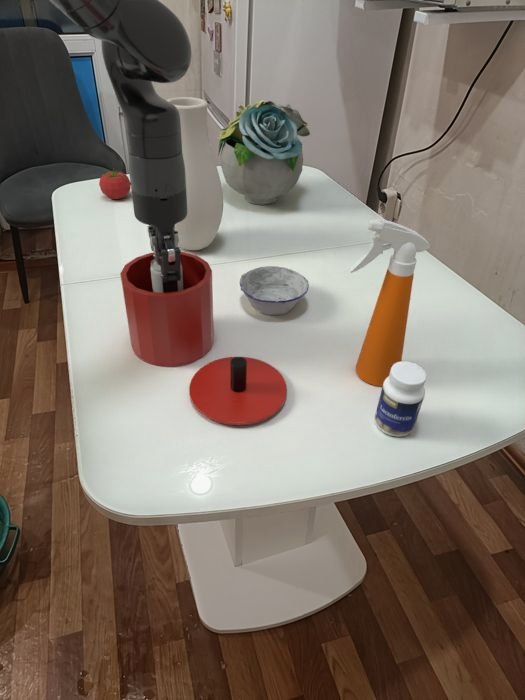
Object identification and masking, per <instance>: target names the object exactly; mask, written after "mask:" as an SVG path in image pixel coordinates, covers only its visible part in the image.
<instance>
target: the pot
mask: <svg viewBox="0 0 525 700" xmlns="http://www.w3.org/2000/svg"><path fill="white" fill-rule="evenodd" d="M153 255H154V252H149V253H146V254H143V255H140V256H139V255H138V256H137V257H135V258H133V259H131V260H130V261H129V262H127V263H126V264H125V265H124V267H122V269H121V271H120V280H121V286H122V288H121V289H122V295H123V301H124V308H125V314H126V319H127V320H126V321H127V326H128V333H129V340H130V344H131V349H132V352H133V353H134V355H135V356H136V357H137V358H139V359H140V360H141V361H143V362H145V363H148V364H150V365H153V366H157V367H167V368H168V367H169V368H170V367H182V366H186V365H189V364H192V363H195V362H197V361H198V360H200V359H202V358H204V357H205V356H206V355H207V354H208V353H209V351H210V350H211V349H212V347H213V345H214V344H213V343H214V339H215V338H214V337H215V334H214V333H215V331H214V299H213V298H214V297H213V295H214V294H213V293H214V292H213V290H214V289H213V270H212V268H211V266H210V264H209V262H208V261H207V260H205V259H203V258H202V257H200V256H198V255H196V254H193V253H189V252H186V251H181V253H180V261H181V265H182V273H183V291H177V292H170V293H158V292H153V287H152V278H151V269H150V268H151V262H152V261H153V260H154V259H155V258H154V257H153Z"/></svg>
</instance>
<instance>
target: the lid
mask: <svg viewBox="0 0 525 700" xmlns="http://www.w3.org/2000/svg"><path fill="white" fill-rule="evenodd" d="M188 389H189V391H188V392H189V399H190V401H191V403H192V405H193V407H194V408H195V409H196V410H197V411H198V412H199V413H200V414H201V415H203V416H204V417H205V418H207V419H209V420H211V421H213V422H216V423H219V424H224V425H231V426H247V425H248V426H249V425H254V424H257V423H260V422H263V421H265V420H268V419H269V418H271V417H272V416H274V415H275V414H277V412H278V411H280V410H281V409H282V407H283V406H284V404H285V402H286V400H287V394H288V386H287V382H286V380H285V378H284V376H283V375H282V374H281V372H280V371H279V370H278V369H277V368H276V367H274V366H272V365H271V364H269V363H268V362H266V361H263V360H260V359H257V358H253V357H248V356H227V357H223V358H218V359H215V360H212V361H210V362H208V363H207V364H205V365H203V366H201V367H200V368H199V369H198V370H197V371H196V372H195V374H194V375H193V376H192V378H191V380H190V383H189V388H188Z"/></svg>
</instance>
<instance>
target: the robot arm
mask: <svg viewBox="0 0 525 700" xmlns="http://www.w3.org/2000/svg"><path fill="white" fill-rule="evenodd" d="M48 1H49V2H50V3H51V4H52V5H53V6H54V7H55V8H56V9H58V11H60V12H61V13H62V14H63V15H64V16H65V17H66V18H68V20H70V21H71V22H72V23H73V24H75V26H76V27H78V28H79V29H80V30H81V31H83V32H84V33H86V34H87V35H89V36H90V37H92V38H95V39H96V40H100V41H101V42H100V43H101V45H100V46H101V54H102V58H103V64H104V66H105V69H106V72H107V75H108V78H109V81H110V83H111V86H112V89H113V92H114V95H115V97H116V100H117V103H118V105H119V108H120V110H121V113H122V115H123V118H124V123H125V132H126V133H125V134H126V142H127V146H128V147H127V148H128V149H127V150H128V174H129V180H130V183H131V187H130V191H131V196H132V198H131V199H132V204H133V205H132V206H133V214H134V217H135V219H136V220H137V221H138V222H140V223H141V224H144V225H147V234H148V237H149V246H150V249H151V251H152V252H153V253H154V255H153V257H154V258H155V260H156V263H157V264H158V265H160V271H161V275H160V277H161V278H162V285H163V293H170V292H177V291H178V283H177V281H180V280H181V263H180V253H181V252H182V251H181V247H179V246H178V243H179V236H178V231H175V224H177V223H178V222H181V221H183V220H184V219H185V218H186V216H187V194H186V175H185V165H184V159H183V153H182V138H181V122H180V114H179V111H178V109H177V107H176V106H175V105H173V104H172V103H170V102H169V101H167V100H168V99H164V98H163V97H162V96H161V95H159V94H158V92H157V91H156V89H155V87H154V85H153V83H157V84H158V83H159V84H173V83H176V82H178V81H179V80H181V79H182V78H183V77H184V76H185V75H186V74H187V72H188V71H189V69H190V65H191V62H192V44H191V39H190V37H189V33H188V32H187V29H186V28H185V26H184V24H183V23H182V21H181V20H180V18H179V17H178V16H177V15H176V14H175V13H174V12H173V11H172V10H171V9H170V8H169V7H168V6H166V5H165V4H164V3H162V2H161V1H160V0H48ZM160 257H162V258H160Z"/></svg>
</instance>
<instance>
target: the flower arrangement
mask: <svg viewBox="0 0 525 700" xmlns="http://www.w3.org/2000/svg"><path fill="white" fill-rule="evenodd" d="M238 109H239V111H236V112H235V113H236V115H235V118H234V119H233V120H232V121H229V122H228V125H227V126H226V127H224V128H221V129H220V130H221V131H220V132H219V137H216V139H217V140H219V144H218V153H217V154H218V155H217V156H218V157H219V155H220V166H221V171H222V175H223V178H224V180H225V183H226V184H227V185H228V186H229V187H230V188H232V189H233V190H234V191H235V192H237V193H238V194H239V195H243V197H244V199H245V201H247V202H248V203H251V204H252V205H253V204H254V205H263V206H264V205H270V204H273V203H275V202H276V200H277V199H278V197H280V196H282V195H285V194H286V193H289V191H291V190H292V189H294V188H295V186H296V185H297V183H298V181H299V178H300V177H301V175H302V172H303V166H304V153H303V143H302V141H301V139H300V137H308V136H310V135H311V132H310V129H309V128H308V127H307V126H308V125H309V124H308V122H306V121H304V119H303V117H302V115H301V114H300V112H299V110H297V109H295V108H294V109H293V108H292V106H291V104H290V103H289V104H287V105H285V104H280V103H279V104H278V103H276V102H275V101H273V100H269V101H266V100H265V99H261V100H259V101H256V102H255V103H252V104H251V105H250V104H248V105H247V106H245V107H244V104H243V102H241V103H240V106H238ZM299 136H300V137H299Z"/></svg>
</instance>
